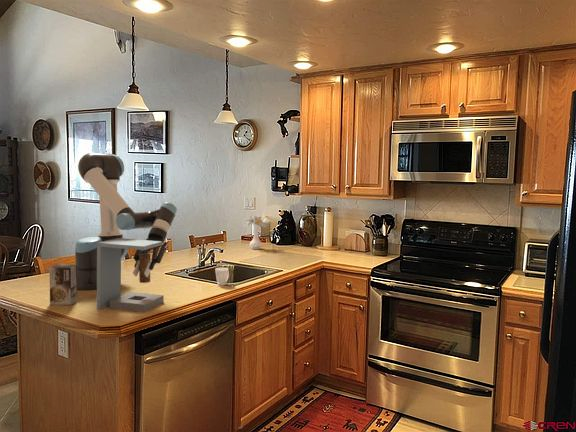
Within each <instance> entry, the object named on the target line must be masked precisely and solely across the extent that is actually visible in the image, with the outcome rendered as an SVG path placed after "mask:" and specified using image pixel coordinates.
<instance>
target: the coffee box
mask: <svg viewBox="0 0 576 432" xmlns="http://www.w3.org/2000/svg"><path fill="white" fill-rule="evenodd" d="M48 268H49V269H48V270H49V271H48V272H49V305H55V306H58V305H60V306H62V305H63V306H66V305H67V306H68V305H69V306H71V305H73V304H75V303H76V302H78V296H77V295H78V289H77V265H75V264H73V263H72V264H71V263H69V264H65V263H60V264H59V263H58V264H57V263H56V264H53V265H51V266H49V267H48Z"/></svg>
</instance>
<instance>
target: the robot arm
mask: <svg viewBox="0 0 576 432" xmlns="http://www.w3.org/2000/svg"><path fill="white" fill-rule="evenodd" d="M77 170H78V173H79V175H80V177H81V179H82V180H83V181H84V183H87V184H89V185H90V186H91V187H92V188H93V190H94V191H95V192H96V194H97V195H98V196H99V213H100V216H99V217H100V233H99V234H98V235H97V236H89V237H82V238H80V239H78V240H77V241H76V242H75V247H74V248H75V249H74V252H75V256H74V257H75V258H74V259H75V260H74V261H75V263H74V265H77V290H81V291H82V290H84V291H86V290H87V291H89V290H97V243H98V242H102V241H107V240H112V239H116V238H124V239H126V238H125V237H123V236H124V234H123V232H122V231H131V230H137V229H150V230H149V233H148V235H147V238H146V239H145V240H149V241H162V245H160V246H157V247H153V248H150V249H147V250H135V253H134V255H133V259H134V261H135V262H134V269H133V271H132V274H133V275H134V276H135V277H137V276H138V274H139V254H143V253H148V254H149V252H151V250H152V254H151V259H150V261H149V263H148V265H147V268H146V270H145V272H144V275H145V276H146V277H148V276H149V273H150V274H151V271H153V270H154V268H155V265H156V264H160V263H161V262H162V259H163V257H164V255H165V252H166V250H167V249H168V247H169V244H168V243H167V242H165V240H166V239H167V235H168V233H169V231H170V228H171V226H172V223H173V221H174V219H175V217H176V214H177V211H178V208H177V206H176V205H174V204H173V203H171V202H170V201H169V202H168V201H167V202H163V203H162V204H161V206H160V208H157V209H154V210H150V211H140V212H138V211H137V212H135V211H134V210H133V209H132V208H131V207H130V205H129V204H128V203H127V202H126V200H125V198H123V197H122V195H121V194H120V193H119V191H118V183H119V182H120V181H121V177H122V176H123V175H124V172H125V164H124V161H123V160H122V158H121V157H120V156H118V155H116V154H112V153H97V152H89V153H86V154H84V155H83V156H82V157H80V159H79V161H78V164H77ZM120 230H122V231H120ZM128 250H129V249H123V248H121V260H122V259H123V258H125V257H126V255H127V254H128V252H129V251H128Z"/></svg>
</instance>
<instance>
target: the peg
mask: <svg viewBox="0 0 576 432" xmlns="http://www.w3.org/2000/svg"><path fill="white" fill-rule="evenodd" d="M149 261H151V253H149V252H148V253H143V254H139V272H138V274H139V276H138V277H139V278H138V280H139V283H141V284H147V283H150V282H151V272H150V273H149V276H148V277H146V276H145V275H144V272H145V270H146V268H147V265H148V263H149Z"/></svg>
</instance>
